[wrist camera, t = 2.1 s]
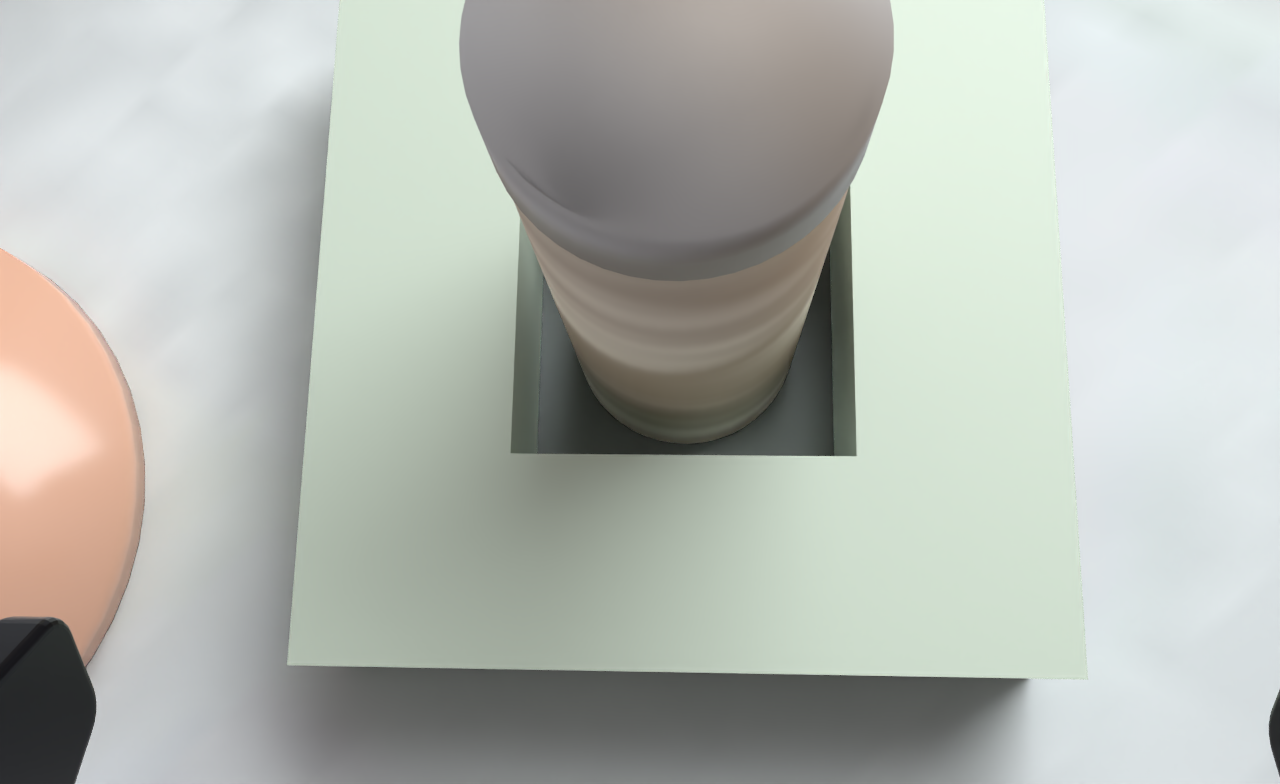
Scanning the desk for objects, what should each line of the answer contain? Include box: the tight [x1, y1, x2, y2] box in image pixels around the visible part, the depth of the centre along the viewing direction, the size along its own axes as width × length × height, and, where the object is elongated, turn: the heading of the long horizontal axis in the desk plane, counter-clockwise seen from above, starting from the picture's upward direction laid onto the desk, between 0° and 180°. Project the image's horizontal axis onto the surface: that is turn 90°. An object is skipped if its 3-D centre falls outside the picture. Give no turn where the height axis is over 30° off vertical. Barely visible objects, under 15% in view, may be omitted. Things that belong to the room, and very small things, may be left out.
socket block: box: [287, 0, 1088, 679], centre depth 20 cm, size 12×12×3 cm
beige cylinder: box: [459, 0, 894, 444], centre depth 16 cm, size 4×4×11 cm
